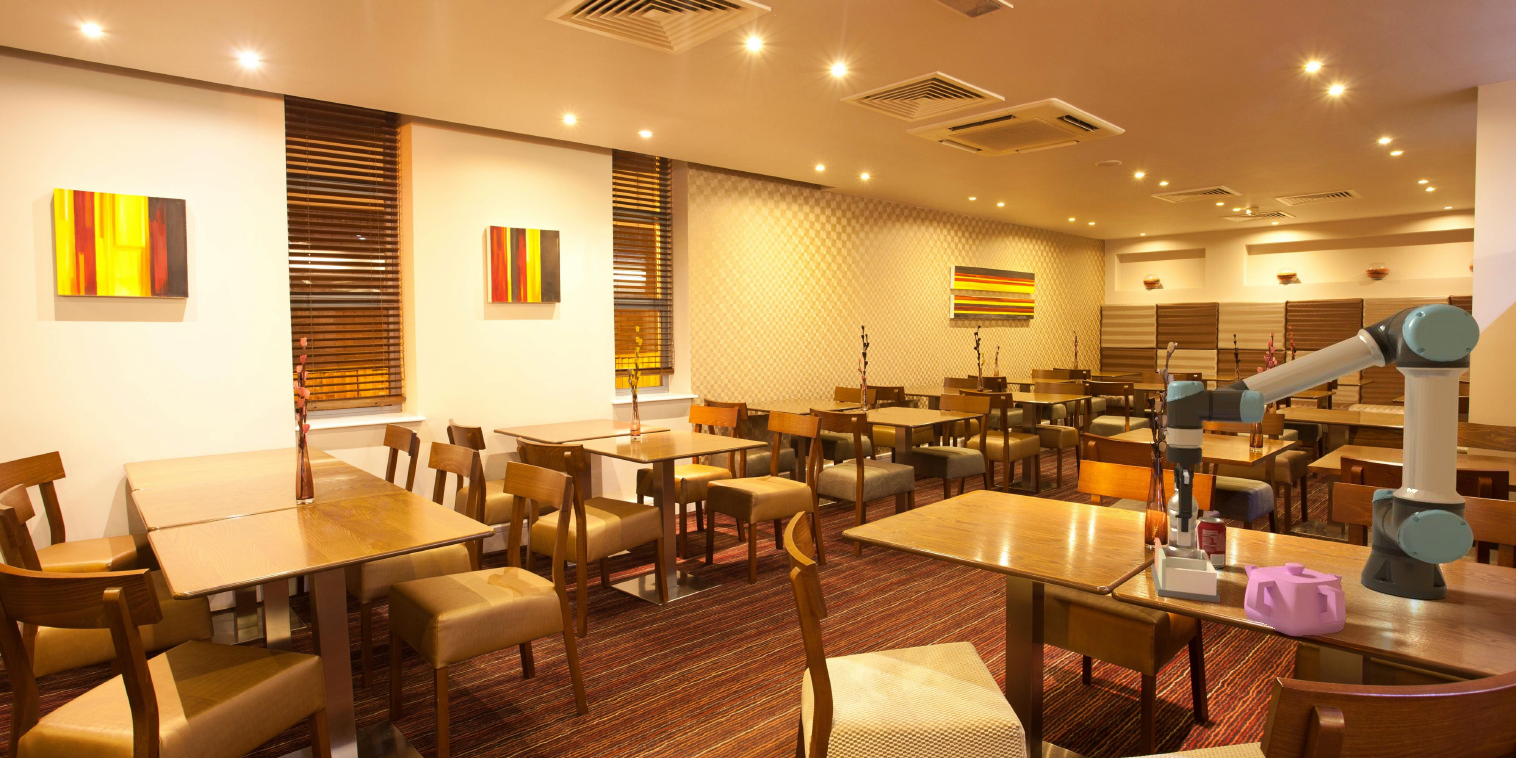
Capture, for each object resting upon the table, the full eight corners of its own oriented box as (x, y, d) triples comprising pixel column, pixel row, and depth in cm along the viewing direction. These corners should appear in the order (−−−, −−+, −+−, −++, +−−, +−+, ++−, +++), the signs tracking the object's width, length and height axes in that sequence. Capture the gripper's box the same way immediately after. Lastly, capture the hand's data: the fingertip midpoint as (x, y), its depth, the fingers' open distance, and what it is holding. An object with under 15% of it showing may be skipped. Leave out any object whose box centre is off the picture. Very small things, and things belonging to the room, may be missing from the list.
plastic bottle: (1159, 563, 185) (1161, 481, 184) (1181, 560, 187) (1183, 479, 186) (1181, 571, 178) (1183, 486, 177) (1204, 568, 180) (1205, 484, 179)
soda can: (1229, 570, 190) (1231, 522, 190) (1200, 568, 192) (1201, 521, 191) (1219, 562, 197) (1220, 516, 196) (1190, 561, 198) (1191, 515, 198)
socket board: (1206, 576, 185) (1207, 542, 185) (1219, 602, 166) (1220, 564, 166) (1151, 570, 190) (1152, 537, 190) (1157, 595, 171) (1158, 558, 171)
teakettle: (1245, 629, 151) (1247, 568, 150) (1242, 604, 166) (1243, 548, 165) (1353, 647, 142) (1355, 581, 142) (1339, 618, 157) (1341, 559, 156)
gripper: (1162, 440, 191) (1161, 531, 192) (1169, 450, 174) (1168, 549, 175) (1197, 441, 188) (1195, 534, 189) (1207, 451, 171) (1205, 553, 172)
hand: (1182, 541), depth 182 cm, fingers closed on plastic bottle, 6 cm apart
